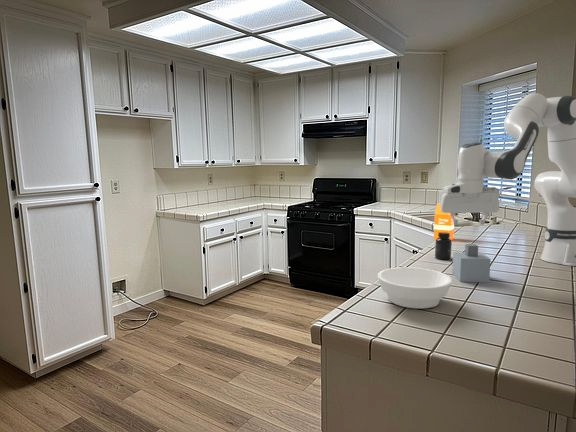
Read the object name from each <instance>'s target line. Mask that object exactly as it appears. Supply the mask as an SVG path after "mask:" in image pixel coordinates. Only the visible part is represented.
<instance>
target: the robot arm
mask: <svg viewBox="0 0 576 432" xmlns="http://www.w3.org/2000/svg"><path fill="white" fill-rule="evenodd" d="M546 127H547V133H546V134H547V135H546V136H547V153H548V155H547V156H548V159H549V161H550V162H551V163H553V164H555V165H556V166H557V167H558V168H559V169H560V170H551V171H544V172H540V173H539V174H538V175H537V176H536V177H535V180H534V182H533V183H534V184H533V186H534V190H535V191H536V192H537V193H538V194H539V195H541V197H542V199H543V201H544V202H545V206H546V209H547V220H546V221H547V222H546V227H545V231H544V233H545V234H544V246H543V250H542V253H541V255H540V259H541V260H542V261H545V262H548V263H552V264H557V265H558V264H559V265H565V266H568V267H576V207H574V206H573V205H572V204H571V202H570V200H569V198H575V199H576V96H575V95H574V96H573V95H563V96H555V97H554V96H553V97H547V98H546V97H545V96H544V95H543V94H541V93H538V92H533V93H529V94H527V95H525V96H524V97H522V98H521V99H520V100H519V101H518V102H517V103H516V104H515V105H513V107H512V108H511V109H510V111H509V112H508V114H506V116H505V118H504V121H503V128H504V131H505V132H506V134H507V135H508V136H509V137H511V138H513V139H516V141H515V144H514V145H513V147H512V148H511V149H508V150H504V151H503V150H502V151H490V150H488V149H487V148H485V147H484V144H483V143H482V142H469V143H464V144H462V145H461V146H460V147H459V150H458V156H457V171H458V172H457V173H458V175H457V179H456V182H454V183H452V184H448V185H445V186H444V187H443V191H444V193H442V195H441V197H440V203H439V204H440V210H441V211H442V212H443V213H450V216H451V218H452V220H453V225H454V226H457V225H459V220H458V219H456V218H455V216H456V214H462V213H464V214H467V213H469V214H470V213H472V214H473V213H477V214H478V213H481V214H482V215H483V216H482V218H481V219H479V220H478V221H479V223H478V224H479V225H480V226H482V225H483V226H484V225H485V223H486V220H487V218H488V217H489V213H498V212H499V210H500V199H499V198H500V194H501V193H500V189H499V188H498V187H497V188H496V186H495V187H494V186H491V187H490V186H489V187H487V186H484V178H488V179H489V178H491V179H492V178H493V179H504V180H509V181H510V180H515V179H516V178H518V177H519V176H520V175H521V174H522V173H523V171H524V170H525V166H526V161H527V159H528V157H529V155H530V153H531V151H532V149H533V147H534V145H535V143H536V141H537V139H538V137H539V133H540V128H546Z"/></svg>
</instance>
